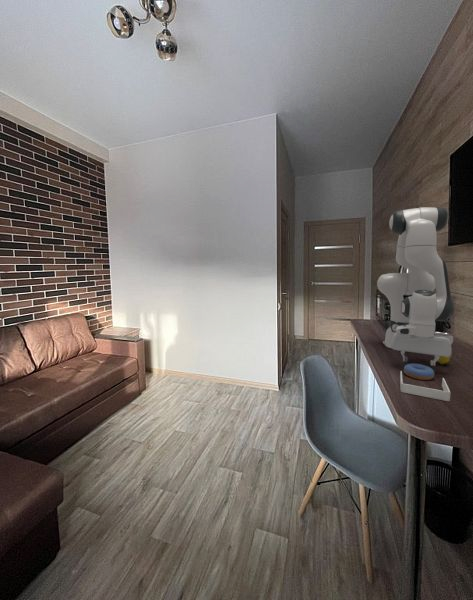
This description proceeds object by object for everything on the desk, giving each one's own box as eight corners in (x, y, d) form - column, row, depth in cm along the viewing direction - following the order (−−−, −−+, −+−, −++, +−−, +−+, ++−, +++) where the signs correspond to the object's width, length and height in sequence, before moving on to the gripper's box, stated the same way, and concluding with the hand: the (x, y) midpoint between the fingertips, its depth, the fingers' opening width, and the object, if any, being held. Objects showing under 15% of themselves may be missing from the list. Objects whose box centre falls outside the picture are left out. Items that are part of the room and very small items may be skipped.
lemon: (430, 363, 119) (432, 345, 118) (438, 361, 121) (440, 344, 120) (444, 367, 114) (446, 349, 113) (452, 365, 116) (454, 347, 115)
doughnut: (419, 381, 99) (420, 369, 99) (397, 373, 108) (398, 361, 108) (440, 381, 101) (441, 369, 101) (417, 373, 111) (418, 362, 111)
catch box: (399, 378, 102) (400, 370, 102) (443, 386, 96) (444, 378, 95) (400, 391, 91) (401, 383, 91) (449, 401, 85) (450, 392, 84)
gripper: (452, 331, 106) (448, 365, 108) (392, 326, 117) (390, 356, 118) (455, 335, 101) (451, 370, 103) (392, 329, 111) (390, 361, 113)
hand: (418, 363), depth 111 cm, fingers open, 8 cm apart
